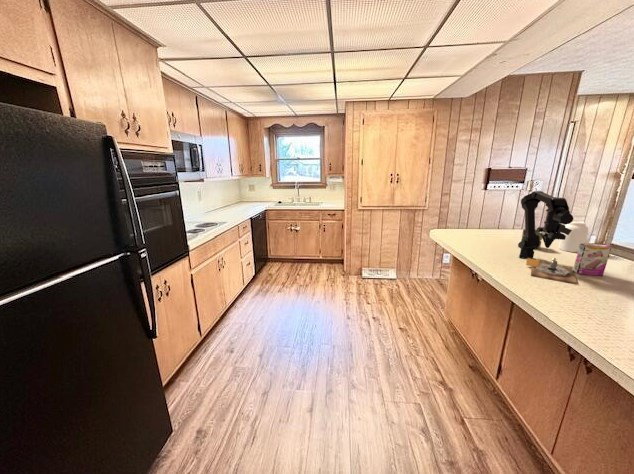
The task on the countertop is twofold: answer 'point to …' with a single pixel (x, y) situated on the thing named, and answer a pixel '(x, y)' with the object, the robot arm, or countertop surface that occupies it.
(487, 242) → the countertop surface
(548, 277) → the walnut board
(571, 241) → the white container
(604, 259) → the candy bar box
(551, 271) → the flange plate
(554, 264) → the post
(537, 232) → the olive green cube
